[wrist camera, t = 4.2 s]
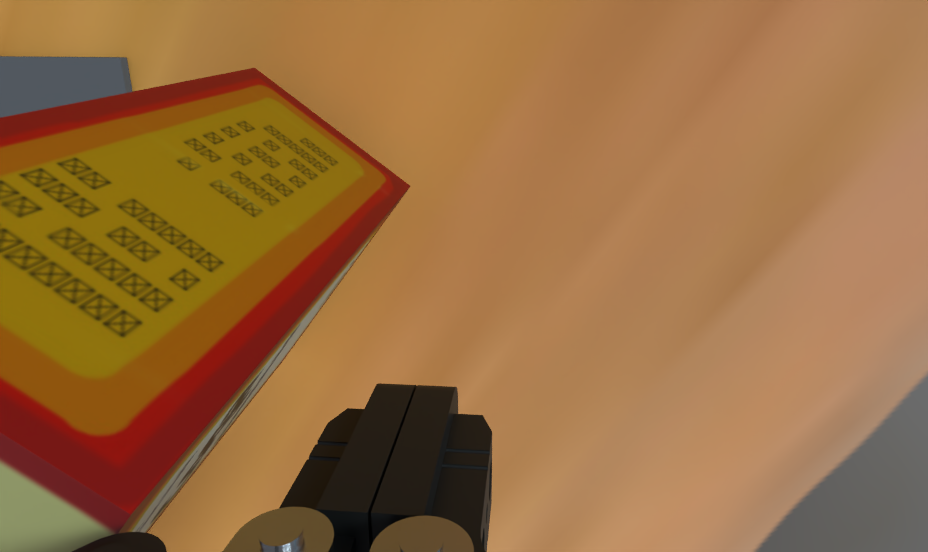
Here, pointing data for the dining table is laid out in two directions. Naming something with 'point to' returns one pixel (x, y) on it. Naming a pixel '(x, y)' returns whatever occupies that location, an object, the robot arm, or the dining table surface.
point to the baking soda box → (158, 287)
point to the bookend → (58, 81)
